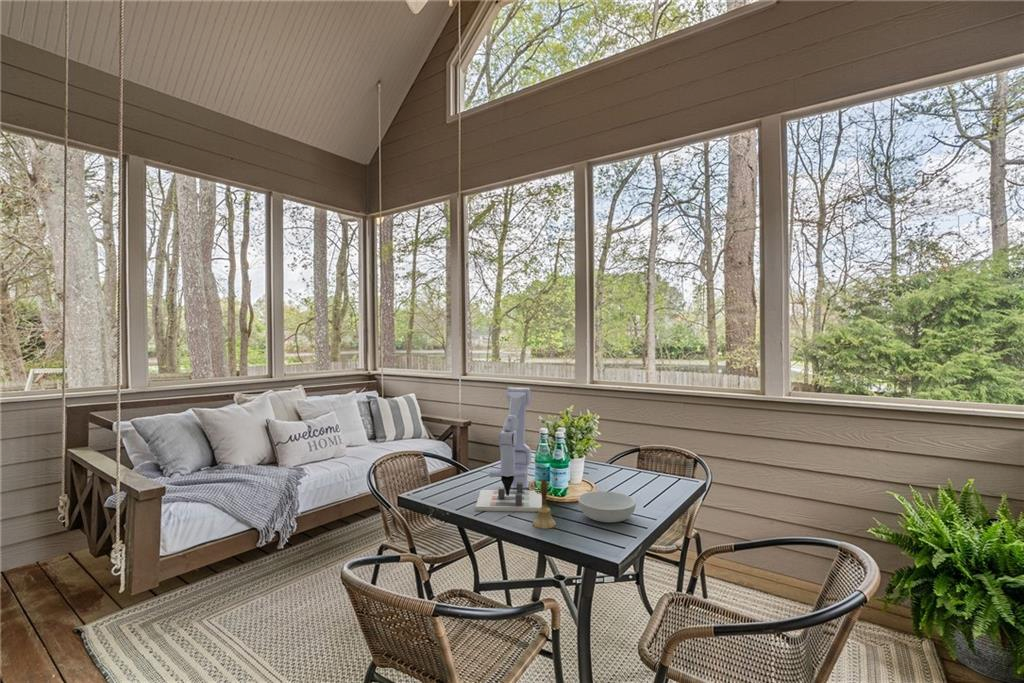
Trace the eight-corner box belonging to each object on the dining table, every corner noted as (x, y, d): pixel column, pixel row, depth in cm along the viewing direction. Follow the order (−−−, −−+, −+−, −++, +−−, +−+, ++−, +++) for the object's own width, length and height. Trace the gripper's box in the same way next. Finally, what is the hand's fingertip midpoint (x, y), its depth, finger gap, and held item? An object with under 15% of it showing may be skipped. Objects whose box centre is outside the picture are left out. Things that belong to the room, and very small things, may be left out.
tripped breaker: (498, 495, 193) (498, 486, 193) (504, 495, 193) (504, 486, 193) (498, 498, 190) (498, 488, 190) (504, 498, 190) (504, 488, 190)
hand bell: (527, 524, 169) (527, 479, 169) (543, 518, 175) (543, 474, 175) (545, 531, 163) (545, 484, 163) (560, 524, 169) (560, 479, 169)
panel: (481, 493, 202) (481, 480, 202) (542, 494, 201) (542, 481, 201) (475, 510, 182) (475, 496, 182) (543, 511, 181) (543, 497, 181)
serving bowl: (646, 518, 175) (646, 499, 175) (614, 534, 160) (614, 514, 160) (599, 503, 190) (599, 486, 190) (566, 517, 175) (566, 499, 175)
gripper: (488, 463, 188) (488, 497, 188) (525, 464, 187) (525, 498, 187) (490, 458, 195) (490, 491, 195) (525, 459, 194) (525, 492, 194)
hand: (507, 494), depth 191 cm, fingers closed
